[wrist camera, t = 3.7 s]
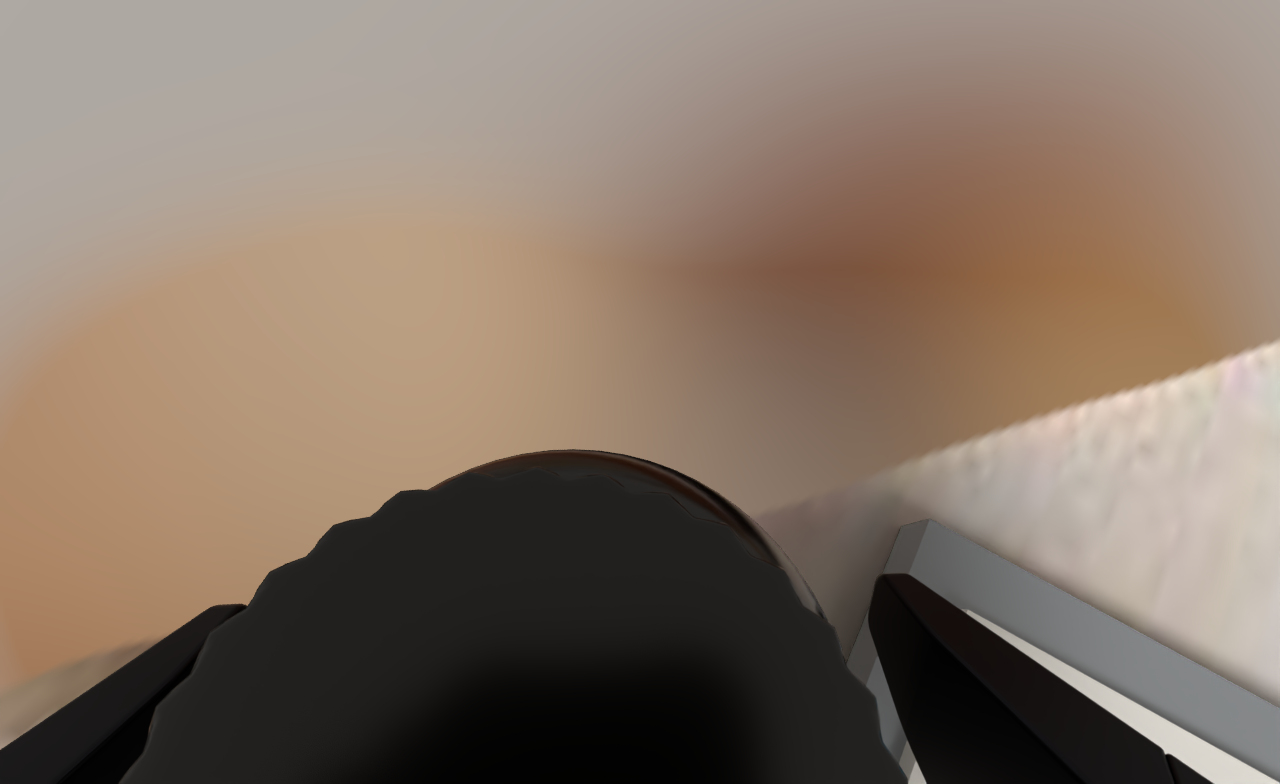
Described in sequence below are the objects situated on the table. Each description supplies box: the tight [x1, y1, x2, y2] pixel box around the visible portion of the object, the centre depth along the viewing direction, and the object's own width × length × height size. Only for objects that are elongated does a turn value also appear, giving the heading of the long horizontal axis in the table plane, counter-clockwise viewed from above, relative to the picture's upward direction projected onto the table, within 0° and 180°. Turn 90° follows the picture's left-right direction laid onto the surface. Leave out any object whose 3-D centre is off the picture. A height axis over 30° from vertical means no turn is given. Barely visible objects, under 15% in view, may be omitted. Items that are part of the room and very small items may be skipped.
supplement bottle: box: [118, 449, 908, 784], centre depth 9 cm, size 7×7×12 cm
